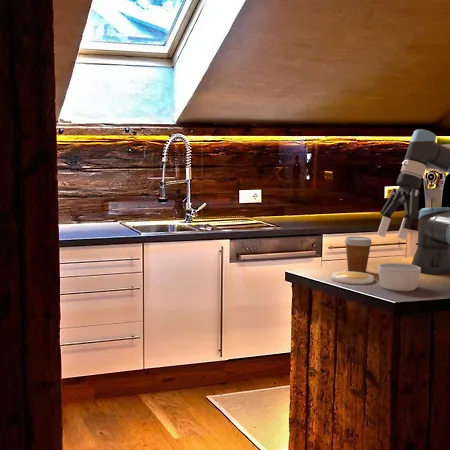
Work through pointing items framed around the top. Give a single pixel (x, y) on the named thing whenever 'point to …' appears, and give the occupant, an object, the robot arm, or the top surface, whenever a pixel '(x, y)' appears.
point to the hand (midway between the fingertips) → (390, 237)
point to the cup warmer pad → (352, 277)
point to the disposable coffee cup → (357, 253)
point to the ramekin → (399, 276)
